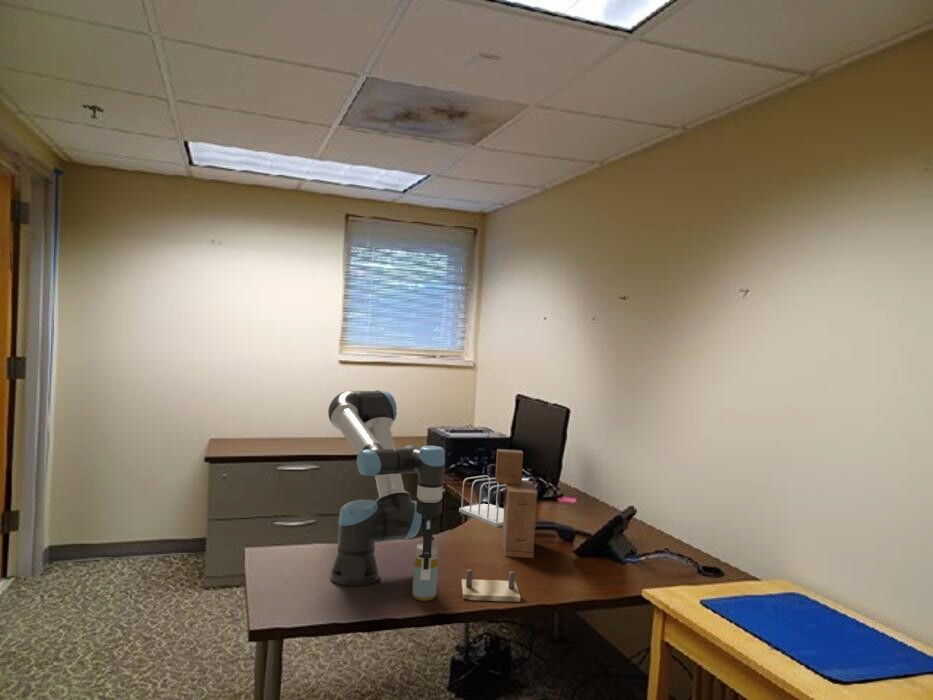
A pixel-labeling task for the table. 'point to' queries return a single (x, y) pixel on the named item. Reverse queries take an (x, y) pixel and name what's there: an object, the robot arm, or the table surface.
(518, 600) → the peg stand
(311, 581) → the table surface
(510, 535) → the tan tall stacked block
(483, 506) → the file sorter
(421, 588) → the bottle
